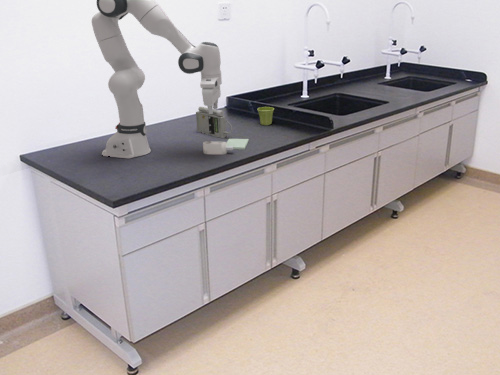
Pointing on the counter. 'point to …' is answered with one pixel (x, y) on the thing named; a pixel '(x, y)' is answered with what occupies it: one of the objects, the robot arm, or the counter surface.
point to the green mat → (238, 143)
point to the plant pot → (265, 115)
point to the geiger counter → (211, 122)
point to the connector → (215, 147)
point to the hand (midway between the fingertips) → (213, 111)
